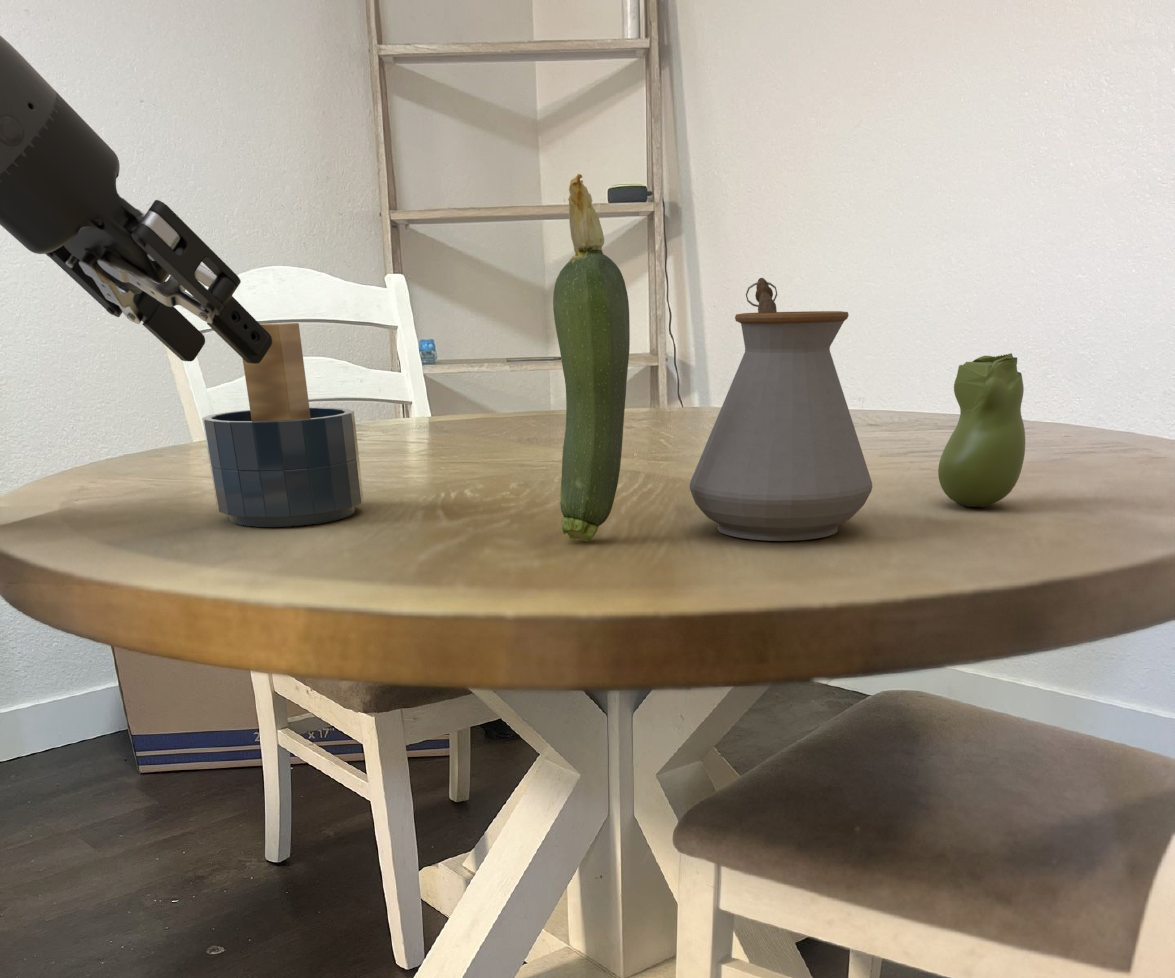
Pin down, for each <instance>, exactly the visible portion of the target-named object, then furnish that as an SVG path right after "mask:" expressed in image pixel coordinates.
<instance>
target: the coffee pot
mask: <svg viewBox="0 0 1175 978" xmlns="http://www.w3.org/2000/svg"><path fill="white" fill-rule="evenodd" d="M755 286H756V287H755ZM770 286H771V287H770ZM753 287H755V288H756V289H755V290H756V291H755V295H754V296H755V300H756V302H757V303H758V304H756V303H753V302H752V301H751V300H749V297H748V294H749V292H750V289H752V288H753ZM772 288H774V290H775V295H774V291H773V289H772ZM773 296H774V297H773ZM745 297H746V302H747V303H748V304H750V305H751V306H752V307H756V308H757V312H743V313H737V314H735V316H734V320H735V322H737V323H739V324H740V325H741V332H742V338H743V343H744V353H743V355H742V358H741V361H740V363H739V365H738V367H737V370H736V372H735V375H734V377H733V379H732V382H731V383H730V386H729V389H728V391H727V393H726V395H725V398H724V401H723V403H722V405H721V408H720V410H719V413H718V414H717V418H716V420H715V421H714V424H713V427H712V428H711V431H710V434H709V437H708V439H707V441H706V444H705V446H704V448H703V451H702V453H701V456H700V457H699V460H698V463H697V465H696V466H695V469H694V472H693V474H692V477H691V479H690V482H689V491H690V493H691V496H692V498H693V500H694V503H695V505H696V506H697V507H698V509H699V510H700V511H701V512H702V514H703V515H705V516H706V517H707V518H708V519H709V520H711V521H713V522H714V523H716V524H717V525H718V526H717V530H718V531H719V532H720V533H722V534H723V535H727V536H730V537H734V538H739V539H747V540H753V541H754V540H756V541H767V542H770V541H775V542H788V541H791V542H792V541H807V540H815V539H821V538H826V537H829V536H830V537H831V536H833V535H835V534H836V533H838V531H839V526H840V525H842V524H843V523H845V522H848V521H849V520H850V519H852V518H853V517H854V516H855V515H856V514H857V513H858V512H859V511H860V510H861V509H862V508H863V507H864V506H865V504H866V503H867V500H868V498H869V497H870V495H871V493H872V491H873V481H872V478H871V475H870V472H869V469H868V465H867V463H866V459H865V455H864V453H863V449H862V447H861V443H860V441H859V438H858V435H857V431H856V429H855V425H854V422H853V418H852V416H851V413H850V409H849V406H848V403H847V400H846V398H845V393H844V392H843V391H844V390H843V388H842V384H841V382H840V377H839V375H838V372H837V368H836V366H835V362H834V360H833V355H832V353H831V346H832V344H833V342H834V341H835V339H836V337H837V335H838V333H839V331H840V329H841V327H842V326H843V324H844V322H845V321H847V320H848V317H849V316H850V315H849V312H848V311H843V310H842V311H841V310H821V311H820V310H819V311H817V310H813V311H808V310H807V311H777V304H776V299H777V297H778V290H777V286H775V284H773V283H772V282H770V281H767V280H766V279H765V278H764V277H760V278H758V280H757V281H756V282H754V283H752V284H751V285H749V286H748V287H747V290H746V292H745Z"/></svg>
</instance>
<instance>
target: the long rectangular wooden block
mask: <svg viewBox="0 0 1175 978" xmlns="http://www.w3.org/2000/svg"><path fill="white" fill-rule="evenodd" d="M259 324H260V325H261V326H262V327H263V328H264V329H265V330H266V331H267V332H268V333H269V334H270V335H271V337H272V345H271V347H270V348H269V350H268V351H267V353H266V354H265V356H264V357H263V359H262V360H261V362H260V363H258V364H252V363H247V362H246V361H245V360H244V359H243V358H242V357H241V359H242V364H243V371H244V378H245V385H246V393H247V398H248V406H249V410H250V412H251V419H252V421H280V420H297V419H309V418H311V416H310V408H309V407H310V400H309V394H308V385H307V378H306V370H305V369H306V368H305V362H304V353H303V347H302V346H303V345H302V337H301V331H300V323H298V322H279V323H277V322H275V323H272V322H271V323H259Z"/></svg>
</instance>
